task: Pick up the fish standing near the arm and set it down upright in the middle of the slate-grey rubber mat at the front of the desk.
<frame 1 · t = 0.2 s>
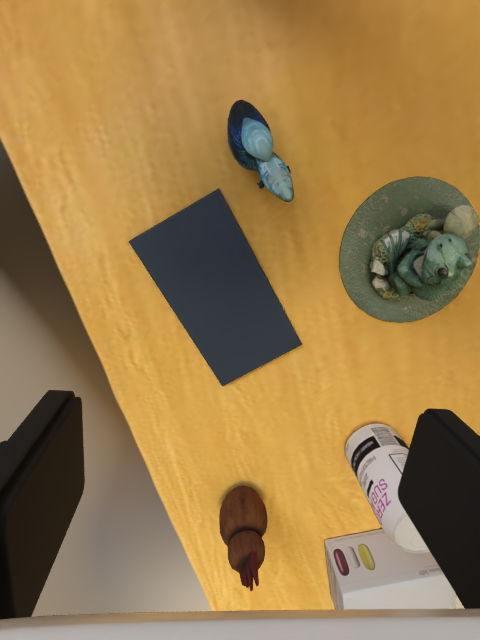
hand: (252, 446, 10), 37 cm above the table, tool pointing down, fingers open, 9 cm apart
mat: (220, 295, 47), on the table
frog figurine: (408, 253, 47), on the table
wooden figurine: (240, 494, 57), on the table
supplement can: (369, 443, 56), on the table
supplement box: (374, 556, 64), on the table
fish: (253, 157, 42), on the table
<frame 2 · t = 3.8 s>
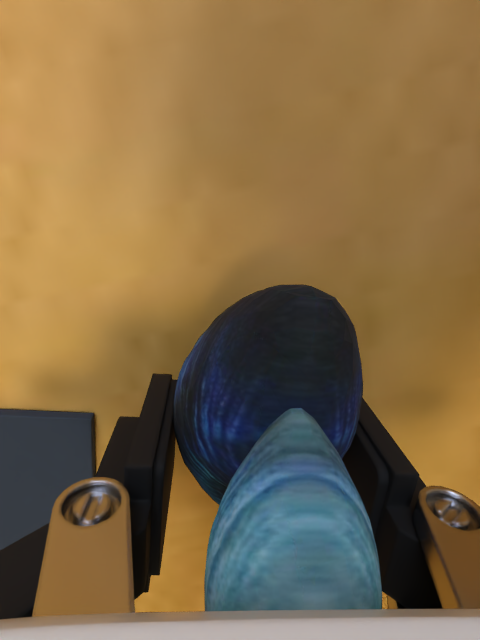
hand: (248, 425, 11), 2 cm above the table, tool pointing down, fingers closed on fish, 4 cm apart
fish: (243, 390, 13), on the table, touching gripper
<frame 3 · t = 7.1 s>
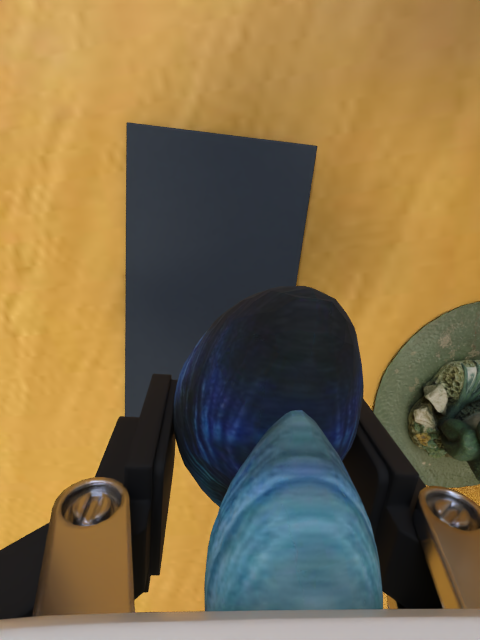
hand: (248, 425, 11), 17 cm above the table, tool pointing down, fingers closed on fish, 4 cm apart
mat: (210, 301, 27), on the table
frog figurine: (473, 399, 32), on the table
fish: (243, 391, 13), point 15 cm above the table, touching gripper
when the fingers open (2 cm above the table, at t = 10.7 s): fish stays where it is, resting on mat.
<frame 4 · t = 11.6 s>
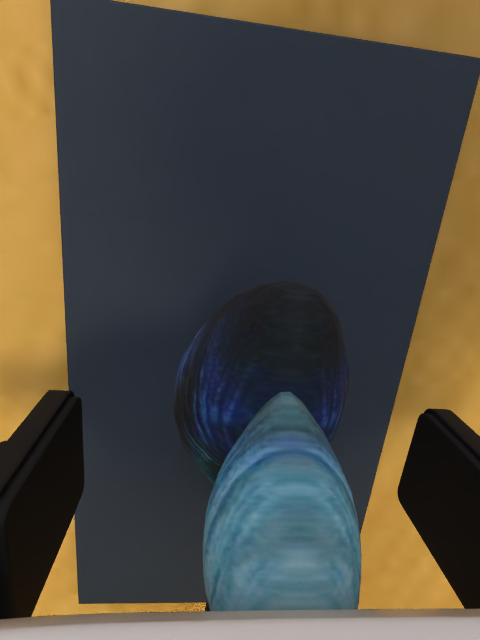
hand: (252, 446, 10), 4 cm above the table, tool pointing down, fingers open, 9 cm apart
mat: (239, 381, 14), on the table
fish: (239, 384, 14), resting on mat
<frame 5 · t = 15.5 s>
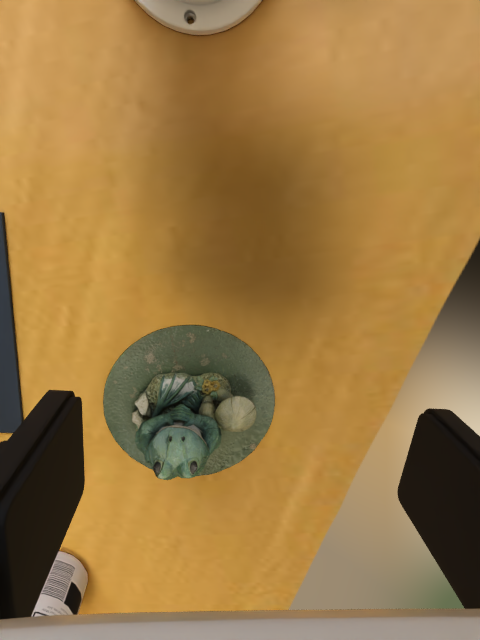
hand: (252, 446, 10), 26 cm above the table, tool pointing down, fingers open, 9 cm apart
frog figurine: (191, 404, 40), on the table
supplement can: (55, 570, 46), on the table
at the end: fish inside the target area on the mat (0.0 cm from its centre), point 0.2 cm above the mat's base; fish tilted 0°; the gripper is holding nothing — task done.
